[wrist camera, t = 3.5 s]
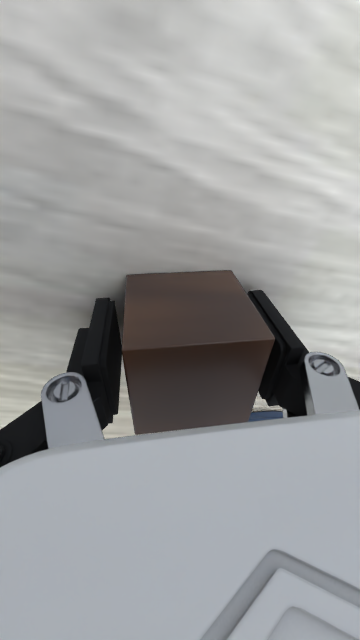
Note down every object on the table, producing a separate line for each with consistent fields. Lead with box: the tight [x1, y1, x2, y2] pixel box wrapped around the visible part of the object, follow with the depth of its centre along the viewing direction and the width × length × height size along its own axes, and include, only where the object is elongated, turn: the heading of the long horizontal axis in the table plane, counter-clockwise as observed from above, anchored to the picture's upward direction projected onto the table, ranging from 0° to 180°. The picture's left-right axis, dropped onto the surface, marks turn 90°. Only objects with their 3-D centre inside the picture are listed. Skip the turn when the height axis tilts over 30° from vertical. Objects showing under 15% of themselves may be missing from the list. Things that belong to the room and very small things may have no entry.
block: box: [122, 271, 275, 435], centre depth 11 cm, size 5×5×5 cm
